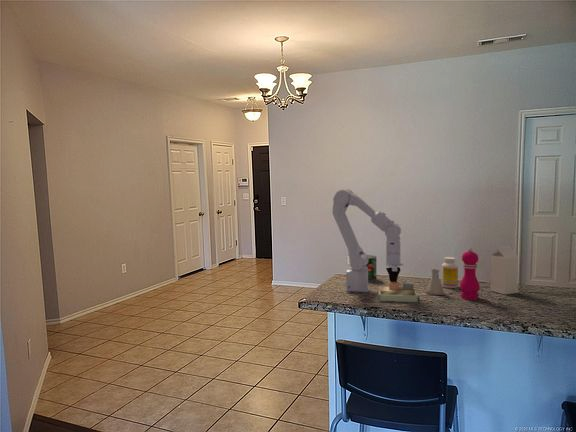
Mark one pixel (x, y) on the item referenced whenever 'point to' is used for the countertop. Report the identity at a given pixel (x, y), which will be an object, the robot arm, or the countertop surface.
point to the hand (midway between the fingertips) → (393, 285)
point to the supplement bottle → (449, 273)
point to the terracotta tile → (393, 285)
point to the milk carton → (504, 271)
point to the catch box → (399, 298)
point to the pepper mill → (469, 276)
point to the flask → (435, 284)
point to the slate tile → (407, 285)
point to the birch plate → (395, 291)
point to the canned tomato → (372, 268)
